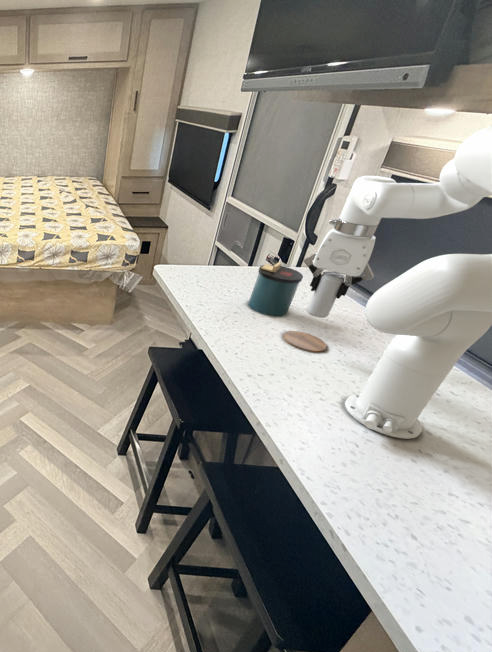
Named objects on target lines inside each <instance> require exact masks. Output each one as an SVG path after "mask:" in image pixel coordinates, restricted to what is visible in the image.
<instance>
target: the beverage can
mask: <svg viewBox="0 0 492 652" xmlns="http://www.w3.org/2000/svg"><path fill="white" fill-rule="evenodd" d="M345 278H346V275H344V274H340V273H336V272H332V271H328V270H326V271H322V273H321V278H320V280H319V282H318V285H317V287H316V289H315V291H313V294H312V296H311V299H310V301H309V303H308V305H307V308H306V312H307V314H309V315H310V316H312V317H315V318H318V319H319V318H320V319H325V318H327V317H328V316H329V315H330V312H331V310H332V308H333V306H334V304H335V302H336V299H337V298H336V296H337V294H338V291H339V289H340V287H341V285H342V284H343V283H344V282H345Z"/></svg>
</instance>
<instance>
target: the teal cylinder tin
mask: <svg viewBox="0 0 492 652" xmlns="http://www.w3.org/2000/svg"><path fill="white" fill-rule="evenodd" d="M264 265H265V264H264ZM264 265H261V266H259V268H258V271H257V272H258V274H257V277H256V279H255V283H254V286H253V289H252V291H251V294H250V297H249V300H248V303H247V305H248V307H249V308H250V309H251V310H252V311H254V312H256V313H258V314H260V315H263V316H269V317H274V318H275V317H276V318H277V317H278V318H279V317H285V316H286V315H287V314H288V312H289V310H290V308H291V304H292V302H293V299H294V297H295V295H296V292H297V290H298V288H299V285H300V283H301V282H303V281H302V280H303V278H304V275H303V274H302V273H301V272H299V271H298V270H296V269H293V268H290V267H287V266H283V265H281V266H280V269H279V270H278V271H276V272H275V273H274V272H270V271H267V270H263V269H261V267H263V266H264ZM271 265H272V266H274V265H275V264H271Z"/></svg>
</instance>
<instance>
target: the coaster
mask: <svg viewBox="0 0 492 652" xmlns="http://www.w3.org/2000/svg"><path fill="white" fill-rule="evenodd" d="M283 339H284V341H285V342H287V343H288V344H289V345H291V346H292V347H295V348H297V349H299V350H302V351H305V352H311V353H321V352H325V351H326V349H327V344H326V343H325V342H324V341H323V340H322V339H320V338H319V337H317V336H315V335H312V334H310V333H307V332H304V331H295V330H290V331H286V332H285V333H284V334H283Z"/></svg>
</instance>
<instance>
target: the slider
mask: <svg viewBox="0 0 492 652" xmlns="http://www.w3.org/2000/svg"><path fill="white" fill-rule="evenodd" d="M272 265H274V266H272ZM262 266H263V265H262ZM280 266H282V262H277V263H275V264H267V263H266V264H264V266H263V267H261V266H260V267H261V269H263V270H267V271H270V272H274V273H275V272H276V271H278V270H279V269H280Z"/></svg>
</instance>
